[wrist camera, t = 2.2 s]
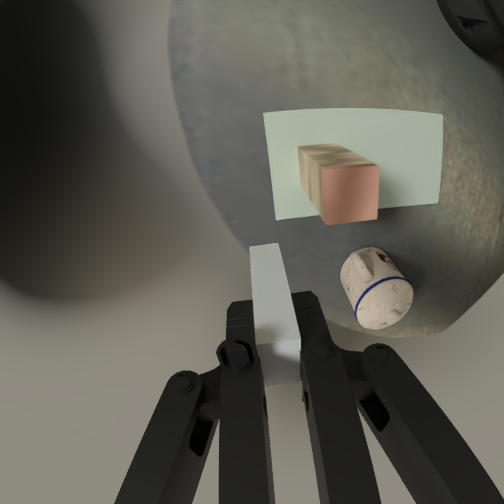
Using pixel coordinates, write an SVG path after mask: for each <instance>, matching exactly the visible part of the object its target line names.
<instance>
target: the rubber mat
mask: <svg viewBox="0 0 504 504" xmlns="http://www.w3.org/2000/svg"><path fill="white" fill-rule="evenodd" d="M263 116H264V124H265V131H266V139H267V147H268V155H269V163H270V171H271V180H272V189H273V197H274V207H275V216H276V220H283V219H291V218H299V217H307V216H316V215H319V213H318V211H317V210H316V208H315V207H314V205H313V204H312V202H311V201H310V199H309V197H308V196H307V194H306V193H305V191H304V190H303V188H302V187H301V185H300V177H299V165H298V154H297V146H305V145H318V144H335V143H336V144H338V145H340V146H342V147H344V148H346V149H348V150H350V151H352V152H354V153H356V154H358V155H360V156H362V157H363V158H365V159H367V160H369V161H371V162H373V163H374V164H376V165H378V166H379V194H378V209H380V208H391V207H401V206H413V205H424V204H436V203H438V200H439V191H440V181H441V169H442V152H443V115H442V114H435V113H427V112H418V111H407V110H394V109H373V108H324V109H303V110H289V111H277V112H267V113H263Z"/></svg>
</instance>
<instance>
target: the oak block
mask: <svg viewBox="0 0 504 504" xmlns="http://www.w3.org/2000/svg"><path fill="white" fill-rule="evenodd" d="M297 154H298V165H299V177H300V185H301V187H302V188H303V190H304V191H305V193H306V194H307V196H308V197H309V199H310V201H311V202H312V204H313V205H314V207H315V208H316V210H317V211H318V213H319V215H320V216H321V218H322V219H323V221H324V223H325V224H326V225H332V224H340V223H349V222H357V221H366V220H375V219H377V213H378V194H379V166H378V165H376V164H374V163H373V162H371V161H369V160H367V159H365V158H363V157H362V156H360V155H358V154H356V153H354V152H352V151H350V150H348V149H346V148H344V147H342V146H340V145H338V144H336V143H335V144H318V145H305V146H297Z"/></svg>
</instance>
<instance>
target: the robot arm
mask: <svg viewBox="0 0 504 504" xmlns="http://www.w3.org/2000/svg"><path fill="white" fill-rule="evenodd" d="M437 1H438V4H439V7H440V9H441V11H442V13H443V15H444V17H445V18H446V20H447V22H448V23H449V25H450V26H451V28H452V29H453V30H454V32H455V33H456V34H457V35H458V36H459V38H460V39H461V40H462V41H463V42H465V43H466V44H467V45H468V46H469V47H471V48H472V49H474V50H476V51H478V52H482V53H495V52H498V51H500V50H502V49H504V0H437ZM249 248H250V262H251V278H252V295H253V299H252V300H244V301H236V302H232V303H231V305H230V306H229V308H228V310H227V324H226V326H227V328H226V340H225V341H223V342H222V343H221V344H220V345H219V346H218V348H217V351H216V354H217V357H218V359H219V362H220V365H219V366H218V367H217V368H215V369H213V370H211V371H209V372H206V373H203V374H200V375H198V374H197V373H195V372H192V371H181V372H178V373H176V374H174V375H173V376H171V378H170V379H169V380H168V382H167V384H166V387H165V389H164V391H163V393H162V395H161V397H160V399H159V402H158V404H157V406H156V408H155V411H154V413H153V415H152V417H151V419H150V422H149V424H148V426H147V428H146V431H145V433H144V435H143V437H142V440H141V442H140V444H139V447H138V449H137V451H136V453H135V456H134V458H133V460H132V463H131V465H130V467H129V470H128V472H127V475H126V477H125V479H124V481H123V484H122V486H121V489H120V491H119V493H118V496H117V498H116V501H115V503H114V504H192V502H193V499H194V496H195V493H196V490H197V487H198V483H199V480H200V478H201V474H202V471H203V468H204V465H205V462H206V459H207V455H208V453H209V449H210V446H211V443H212V440H213V437H214V434H215V430H216V426H217V424H218V421H219V419H220V427H219V504H275V495H274V484H273V472H272V461H271V449H270V438H269V426H268V415H267V403H266V396H265V390H264V386H269V385H277V384H284V383H291V382H298V381H301V380H302V386H303V396H302V401H304V404H305V410H306V416H307V421H308V428H309V433H310V440H311V446H312V452H313V458H314V464H315V471H316V478H317V484H318V491H319V498H320V504H381V500H380V496H379V491H378V486H377V482H376V478H375V474H374V469H373V465H372V461H371V457H370V453H369V449H368V446H367V442H366V438H365V434H364V431H363V427H362V423H361V420H360V416H359V413H358V409H359V411H360V412H361V414H362V416H363V417H364V419H365V421H366V422H367V424H368V425H369V427H370V429H371V430H372V432H373V434H374V435H375V437H376V438H377V440H378V442H379V443H380V445H381V447H382V448H383V450H384V451H385V453H386V455H387V456H388V458H389V460H390V461H391V463H392V465H393V466H394V468H395V469H396V471H397V473H398V474H399V476H400V477H401V479H402V481H403V483H404V484H405V486H406V488H407V489H408V491H409V492H410V494H411V496H412V497H413V499H414V501H415V502H416V504H504V499H503V498H502V496H501V494H500V492H499V491H498V489H497V487H496V486H495V484H494V483H493V481H492V480H491V478H490V477H489V475H488V474H487V472H486V471H485V469H484V468H483V466H482V465H481V463H480V462H479V460H478V459H477V458H476V456H475V455H474V453H473V452H472V450H471V449H470V448H469V446H468V445H467V443H466V442H465V440H464V439H463V438H462V436H461V435H460V434H459V432H458V431H457V430H456V428H455V427H454V425H453V424H452V423H451V422H450V420H449V419H448V417H447V416H446V415H445V413H444V412H443V411H442V409H441V408H440V407H439V406H438V404H437V403H436V402H435V400H434V399H433V398H432V396H431V395H430V394H429V393H428V391H427V390H426V389H425V388H424V386H423V385H422V384H421V382H420V381H419V380H418V379H417V377H415V375H414V374H413V373H412V372H411V370H410V369H409V368H408V366H407V365H406V364H405V363H404V361H403V360H402V359H401V358H400V357H399V356H398V354H397V353H396V352H395V351H394V350H393V349H392V348H391V347H390V346H388V345H385V344H379V343H376V344H372V345H369V346H368V347H367V348H365V350H364V351H363V352H358V351H348V350H344V349H341V348H339V347H338V346H336V345H335V343H334V342H333V341H332V339H331V336H330V333H329V330H328V327H327V324H326V321H325V318H324V315H323V312H322V309H321V307H320V303H319V300H318V297H317V296H316V295H315V294H314V293H312V292H311V291H305V292H298V293H291V294H290V290H289V286H288V281H287V277H286V273H285V269H284V265H283V261H282V257H281V253H280V249H279V245H278V243H274V244H267V245H259V246H252V247H249ZM357 408H358V409H357Z"/></svg>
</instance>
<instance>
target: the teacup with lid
mask: <svg viewBox="0 0 504 504" xmlns="http://www.w3.org/2000/svg"><path fill="white" fill-rule="evenodd" d="M340 279H341V283H342V285H343V287H344V289H345V291H346V294H347V296H348V298H349V300H350V302H351V304H352V307H353V309H354V311H355V317H356V320H357V321H358V323H359V324H361V325H362V326H363V327H365V328H368V329H382V328H385V327H388V326H390V325H392V324H394V323H396V322H397V321H398V320H400V319H401V318H402V317H403V316H404V315H405V314H406V313H407V311H408V310H409V308H410V306H411V304H412V301H413V288H412V285H411V283H410V282H409V281H408V280H407V279H405V278H404V277H403V275H402V274H401V273H400V271H399V270H398V269H397V267H396V266H395V265H394V264H393V262H392V261H391V260H390V258H389V257H388V256H387V255H386V253H385V252H384V251H382V250H381V249H379V248H375V247H367V248H363V249H360V250H358V251H354V252H353V253H351V254H350V256H349V257H348V258H347V260H346V261H345V262H344V264H343V266H342V269H341V273H340Z"/></svg>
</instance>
